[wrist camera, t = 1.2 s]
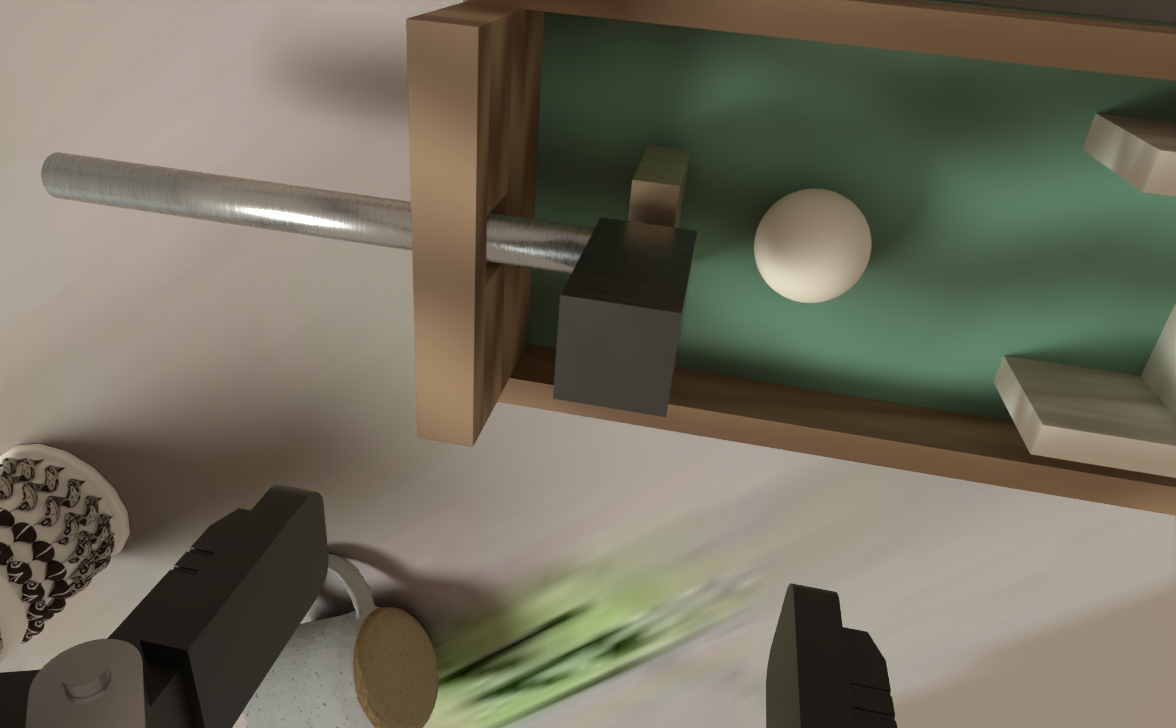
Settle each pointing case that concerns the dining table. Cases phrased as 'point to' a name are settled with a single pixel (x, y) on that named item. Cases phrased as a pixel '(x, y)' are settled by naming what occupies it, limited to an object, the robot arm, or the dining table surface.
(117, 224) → the dining table surface
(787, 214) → the ball
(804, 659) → the robot arm
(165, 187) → the kicker rod
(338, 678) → the ceramic mug
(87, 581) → the decorative candle
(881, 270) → the foosball field
